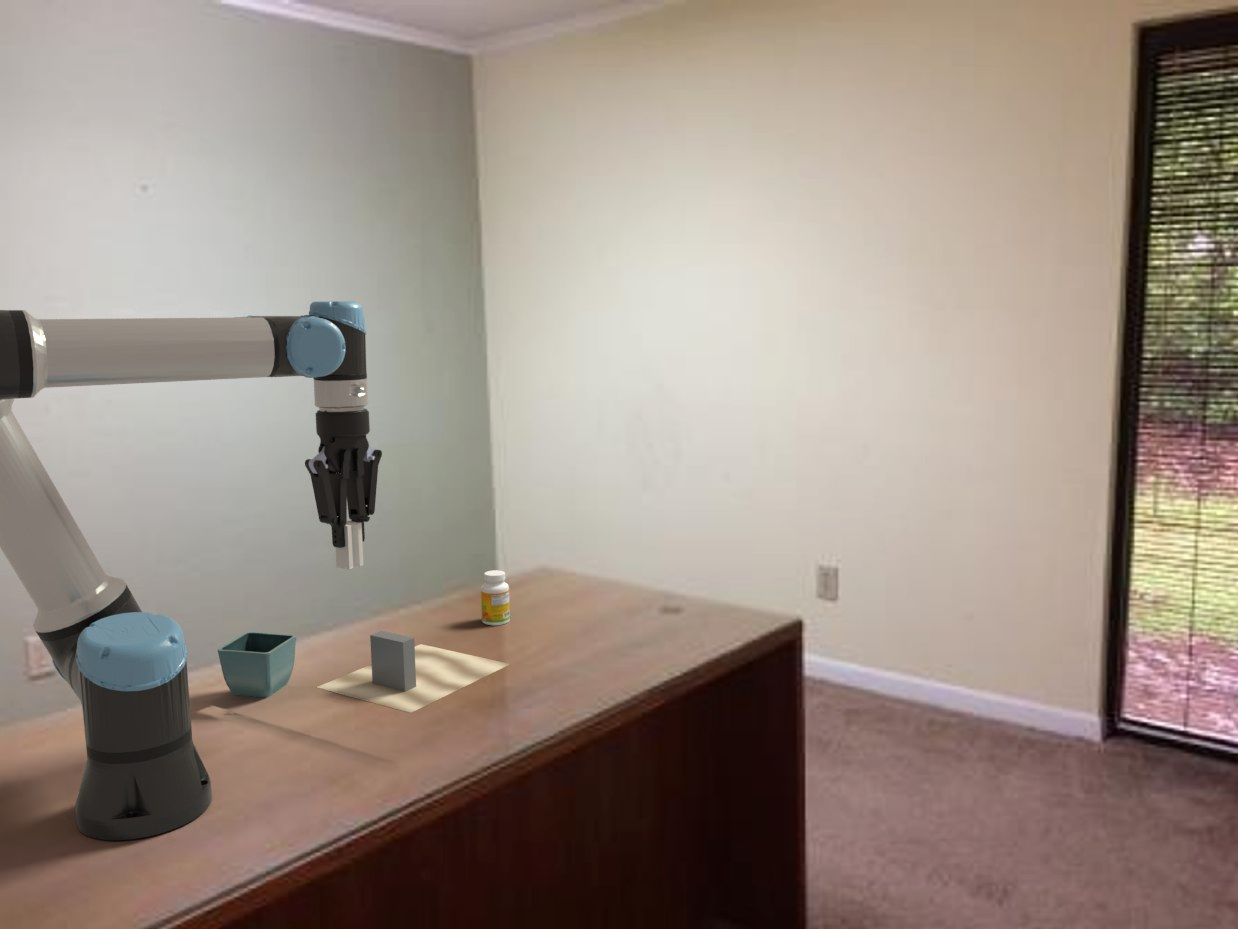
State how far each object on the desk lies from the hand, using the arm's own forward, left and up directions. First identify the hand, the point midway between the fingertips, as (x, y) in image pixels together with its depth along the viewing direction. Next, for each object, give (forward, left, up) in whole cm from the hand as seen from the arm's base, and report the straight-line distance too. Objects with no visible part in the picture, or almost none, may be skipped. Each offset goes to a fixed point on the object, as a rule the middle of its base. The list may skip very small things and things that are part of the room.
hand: (350, 565), depth 154 cm
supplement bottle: (+45, +9, -23) cm, 51 cm away
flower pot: (-4, +17, -23) cm, 29 cm away
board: (+13, 0, -22) cm, 26 cm away
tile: (+8, 0, -21) cm, 23 cm away
